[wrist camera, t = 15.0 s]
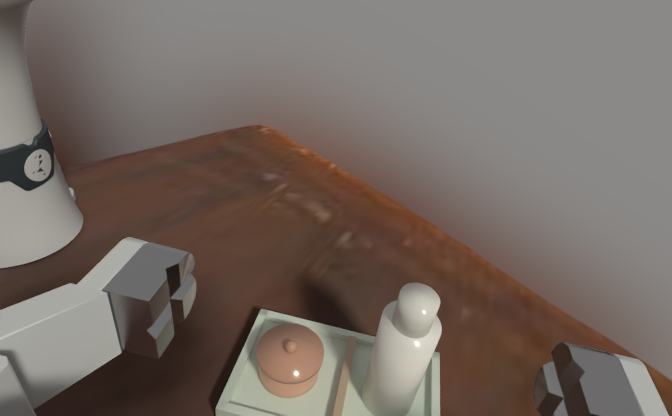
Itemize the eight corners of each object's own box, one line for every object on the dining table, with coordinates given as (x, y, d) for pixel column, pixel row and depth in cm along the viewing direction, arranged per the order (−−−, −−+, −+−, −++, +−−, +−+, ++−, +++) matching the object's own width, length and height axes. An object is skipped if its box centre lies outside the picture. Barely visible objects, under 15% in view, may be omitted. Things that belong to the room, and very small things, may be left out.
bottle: (357, 413, 40) (385, 314, 32) (364, 367, 44) (391, 269, 36) (410, 426, 40) (452, 329, 31) (412, 379, 44) (450, 282, 36)
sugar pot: (246, 397, 41) (246, 362, 38) (267, 344, 46) (269, 309, 43) (310, 414, 41) (316, 381, 37) (325, 358, 46) (331, 324, 43)
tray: (216, 420, 39) (215, 407, 38) (260, 320, 49) (261, 307, 47) (434, 480, 37) (440, 468, 36) (434, 364, 47) (440, 351, 46)
